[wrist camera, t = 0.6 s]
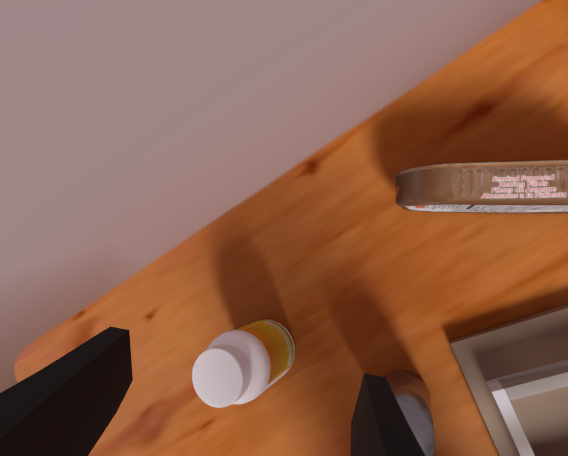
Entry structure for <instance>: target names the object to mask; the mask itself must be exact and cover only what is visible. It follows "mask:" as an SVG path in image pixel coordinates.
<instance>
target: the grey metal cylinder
mask: <svg viewBox="0 0 568 456" xmlns="http://www.w3.org/2000/svg"><path fill="white" fill-rule="evenodd" d="M385 377H386V379H387V380H388V382H389V384H390V386H391V388H392V391H393V393H394V395H395V397H396V399H397V401H398V404H399V406H400V408H401V410H402V412H403V414H404V416H405V418H406V420H407V422H408V424H409V426H410V428H411V430H412V431H413V433H414V435H415V437H416V439H417V441H418V442H419V444H420V446H421V448H422V450H423V452H424V453H425V455H426V456H433V453H434V448H435V441H434V431H433V422H432V413H431V404H430V395H429V391H428V389H427V386H426V385H425V383H424V382H423V381H422V380H421V379H420V378H419V377H418V376H417V375H415V374H413V373H411V372H408V371H404V370H398V371H393V372H391V373H389V374H387V375H386V376H385Z"/></svg>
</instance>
